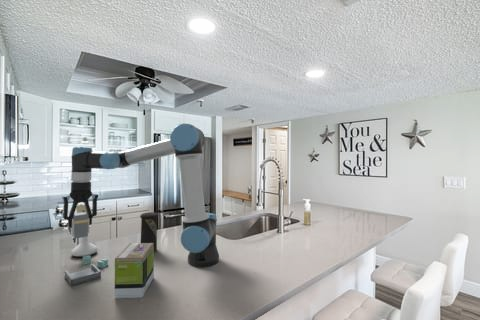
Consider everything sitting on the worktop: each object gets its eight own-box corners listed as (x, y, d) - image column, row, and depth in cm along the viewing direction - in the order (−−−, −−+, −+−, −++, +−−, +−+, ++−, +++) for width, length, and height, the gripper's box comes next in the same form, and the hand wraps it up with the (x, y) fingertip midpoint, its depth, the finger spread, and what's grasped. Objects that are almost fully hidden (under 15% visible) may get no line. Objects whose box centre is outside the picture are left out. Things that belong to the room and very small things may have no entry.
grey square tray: (100, 277, 100) (100, 271, 100) (71, 286, 93) (71, 279, 93) (92, 268, 107) (92, 263, 107) (64, 276, 100) (64, 270, 100)
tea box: (129, 278, 100) (130, 242, 100) (154, 277, 101) (155, 242, 101) (113, 299, 85) (114, 257, 85) (142, 298, 86) (143, 256, 86)
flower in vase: (102, 252, 126) (103, 204, 126) (80, 260, 115) (81, 207, 115) (86, 248, 131) (87, 201, 131) (63, 255, 121) (64, 205, 121)
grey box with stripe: (87, 236, 109) (88, 214, 109) (74, 238, 106) (75, 215, 106) (84, 233, 113) (85, 212, 113) (71, 235, 109) (72, 213, 109)
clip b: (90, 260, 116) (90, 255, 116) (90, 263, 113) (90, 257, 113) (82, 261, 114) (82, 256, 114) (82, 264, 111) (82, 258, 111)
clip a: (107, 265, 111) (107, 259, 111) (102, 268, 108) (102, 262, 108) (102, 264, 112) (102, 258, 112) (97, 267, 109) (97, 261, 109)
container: (151, 254, 125) (152, 215, 125) (135, 252, 127) (136, 214, 127) (160, 248, 133) (161, 212, 133) (145, 246, 135) (146, 210, 135)
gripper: (101, 179, 118) (99, 227, 118) (54, 181, 105) (53, 235, 105) (106, 181, 113) (104, 231, 113) (57, 183, 100) (56, 239, 100)
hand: (79, 233), depth 109 cm, fingers closed on grey box with stripe, 5 cm apart
